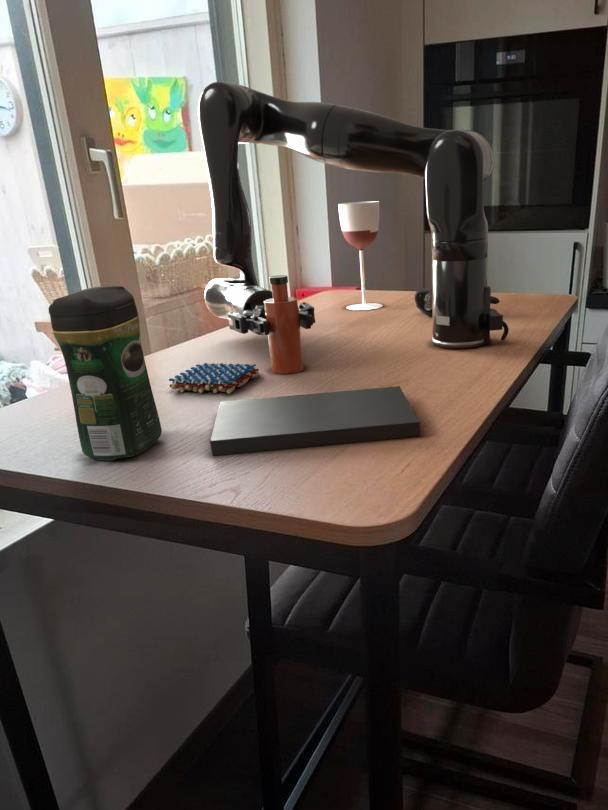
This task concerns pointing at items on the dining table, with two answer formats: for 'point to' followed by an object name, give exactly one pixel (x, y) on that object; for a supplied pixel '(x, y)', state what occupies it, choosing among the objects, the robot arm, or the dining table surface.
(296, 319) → the oil bottle
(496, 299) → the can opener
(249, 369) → the woven mat
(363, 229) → the wineglass
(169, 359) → the dining table surface
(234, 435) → the cutting board
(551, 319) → the dining table surface
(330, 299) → the dining table surface
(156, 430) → the coffee jar
